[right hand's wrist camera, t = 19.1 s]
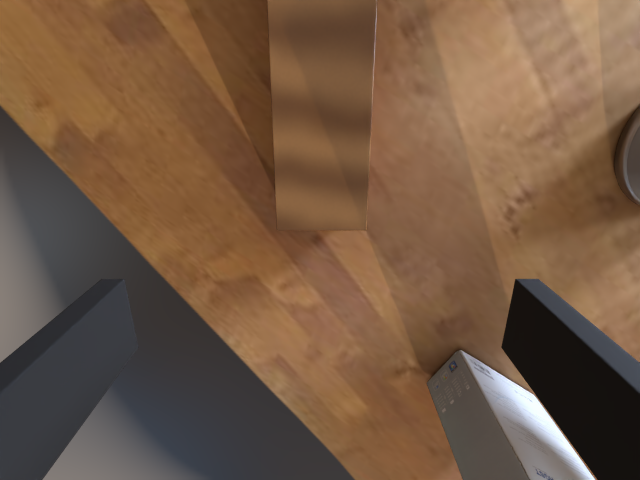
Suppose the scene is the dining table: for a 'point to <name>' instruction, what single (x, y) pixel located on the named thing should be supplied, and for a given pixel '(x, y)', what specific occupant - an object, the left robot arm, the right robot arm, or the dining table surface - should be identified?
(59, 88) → the dining table surface
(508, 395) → the hard drive box
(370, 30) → the thick board
